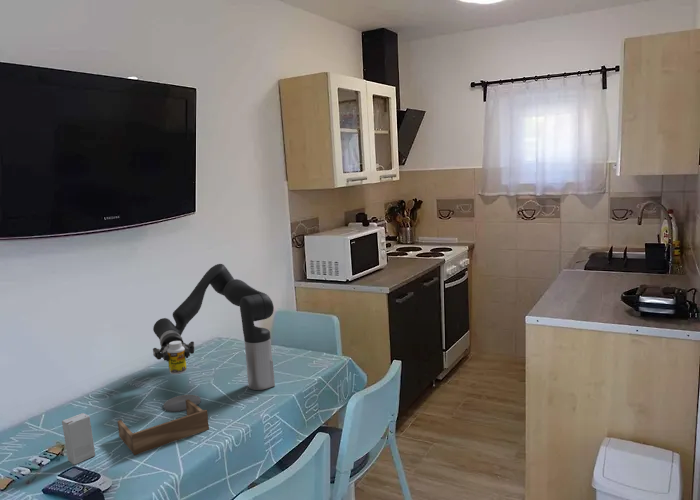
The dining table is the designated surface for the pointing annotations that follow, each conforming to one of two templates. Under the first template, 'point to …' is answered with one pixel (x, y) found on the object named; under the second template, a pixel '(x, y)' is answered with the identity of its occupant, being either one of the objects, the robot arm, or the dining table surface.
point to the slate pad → (180, 402)
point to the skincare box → (78, 438)
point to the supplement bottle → (176, 358)
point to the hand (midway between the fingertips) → (177, 356)
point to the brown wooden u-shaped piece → (165, 430)
